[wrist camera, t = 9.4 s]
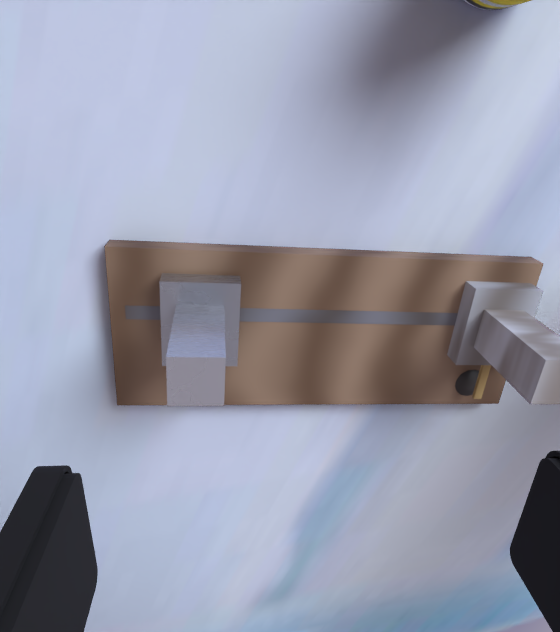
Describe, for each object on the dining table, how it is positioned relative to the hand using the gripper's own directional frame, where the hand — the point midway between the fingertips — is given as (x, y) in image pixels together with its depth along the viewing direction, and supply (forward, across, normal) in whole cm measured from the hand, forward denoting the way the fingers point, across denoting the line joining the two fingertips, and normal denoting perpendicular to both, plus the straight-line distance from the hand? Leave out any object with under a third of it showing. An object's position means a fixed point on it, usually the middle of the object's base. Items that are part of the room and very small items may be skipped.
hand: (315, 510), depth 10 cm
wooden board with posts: (+25, -5, +8) cm, 26 cm away
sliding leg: (+22, +4, +8) cm, 24 cm away
